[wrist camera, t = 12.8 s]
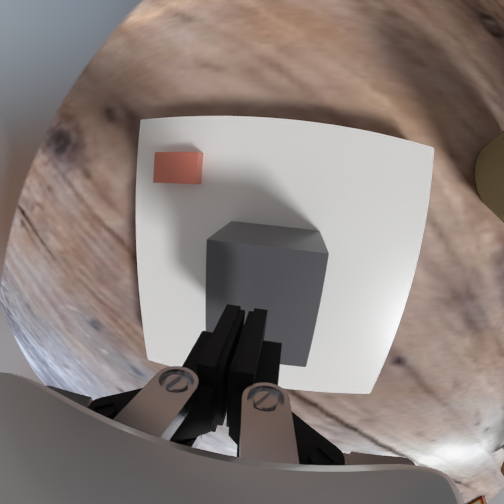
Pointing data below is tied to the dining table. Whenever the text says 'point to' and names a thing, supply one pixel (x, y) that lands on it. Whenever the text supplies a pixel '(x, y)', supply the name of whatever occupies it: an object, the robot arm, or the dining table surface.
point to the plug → (268, 281)
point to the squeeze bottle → (491, 175)
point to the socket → (286, 215)
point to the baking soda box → (479, 500)
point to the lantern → (502, 468)
